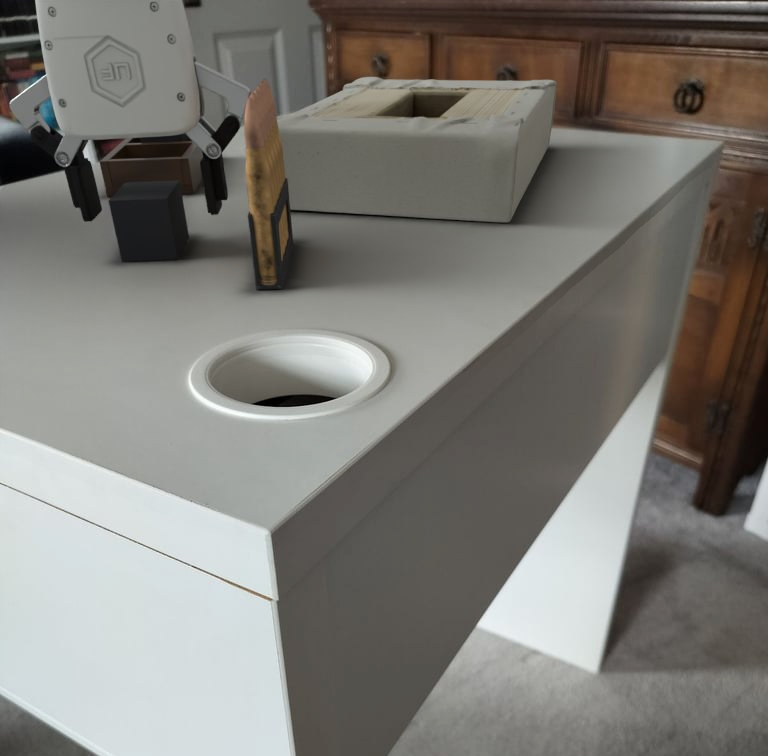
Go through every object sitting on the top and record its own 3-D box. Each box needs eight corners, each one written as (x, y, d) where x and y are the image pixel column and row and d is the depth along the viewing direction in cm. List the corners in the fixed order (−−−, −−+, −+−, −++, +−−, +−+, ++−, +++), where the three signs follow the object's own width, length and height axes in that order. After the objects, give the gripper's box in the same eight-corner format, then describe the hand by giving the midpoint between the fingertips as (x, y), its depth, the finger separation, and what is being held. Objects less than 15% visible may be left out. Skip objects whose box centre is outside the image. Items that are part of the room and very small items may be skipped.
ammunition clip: (270, 243, 64) (253, 77, 57) (293, 243, 64) (278, 76, 57) (256, 290, 55) (232, 100, 48) (282, 289, 55) (262, 99, 48)
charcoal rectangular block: (145, 166, 85) (136, 119, 82) (155, 155, 89) (147, 110, 86) (186, 165, 85) (178, 118, 82) (194, 154, 89) (187, 109, 87)
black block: (121, 261, 61) (108, 200, 58) (136, 240, 65) (124, 182, 63) (178, 259, 61) (167, 198, 58) (189, 238, 66) (179, 180, 63)
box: (517, 227, 66) (552, 146, 91) (523, 127, 62) (558, 70, 87) (263, 217, 72) (361, 144, 97) (252, 125, 67) (357, 72, 92)
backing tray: (107, 197, 77) (99, 161, 76) (141, 160, 91) (135, 129, 89) (193, 193, 78) (188, 158, 76) (215, 158, 91) (211, 127, 89)
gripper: (-55, -48, 48) (29, 233, 58) (224, -62, 49) (260, 221, 59) (-11, -48, 54) (58, 207, 64) (237, -60, 55) (267, 195, 65)
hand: (154, 213), depth 62 cm, fingers open, 9 cm apart
